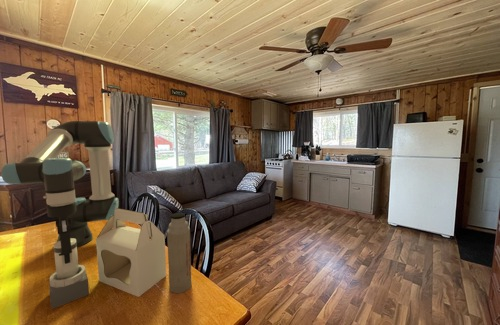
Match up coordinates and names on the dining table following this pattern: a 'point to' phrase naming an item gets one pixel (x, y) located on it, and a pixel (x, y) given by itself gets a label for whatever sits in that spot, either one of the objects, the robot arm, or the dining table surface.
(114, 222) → the gable box
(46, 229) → the dining table surface
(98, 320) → the dining table surface
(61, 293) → the grey socket block
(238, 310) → the dining table surface
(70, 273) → the beige rounded cylinder
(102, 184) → the robot arm
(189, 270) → the thermos bottle
